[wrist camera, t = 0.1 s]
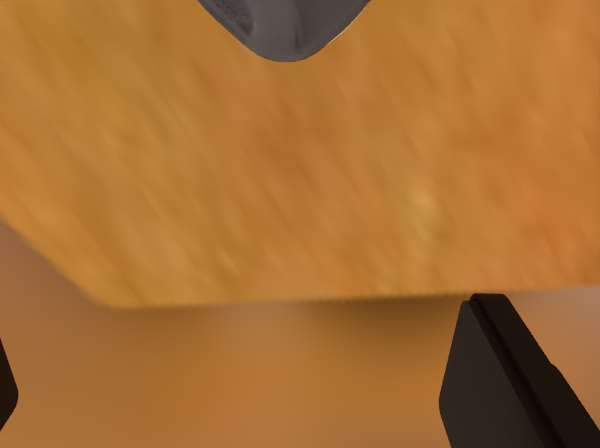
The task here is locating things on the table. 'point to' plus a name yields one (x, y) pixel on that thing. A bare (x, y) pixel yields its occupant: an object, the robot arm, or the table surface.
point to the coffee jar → (285, 24)
